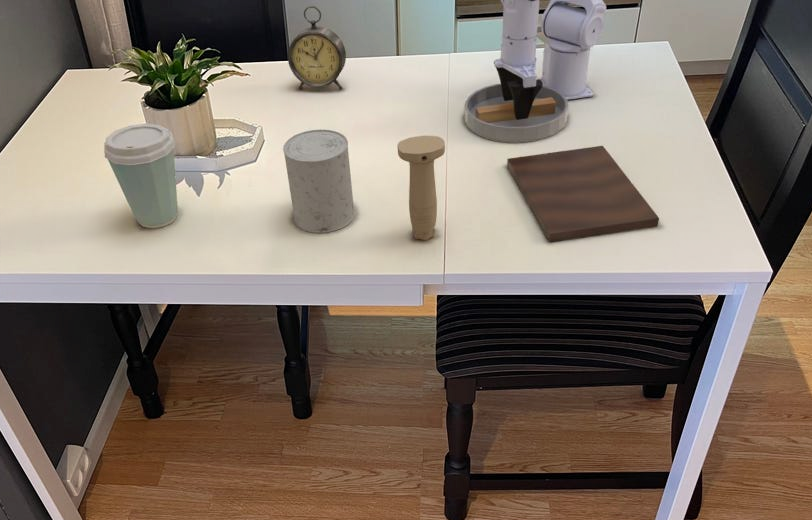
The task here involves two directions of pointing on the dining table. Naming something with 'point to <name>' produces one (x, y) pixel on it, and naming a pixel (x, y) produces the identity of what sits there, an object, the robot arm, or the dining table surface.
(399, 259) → the dining table surface
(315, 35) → the alarm clock
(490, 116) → the stick
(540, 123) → the tin
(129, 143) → the disposable coffee cup
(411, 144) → the handle
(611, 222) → the board
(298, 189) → the grey mottled cylinder
